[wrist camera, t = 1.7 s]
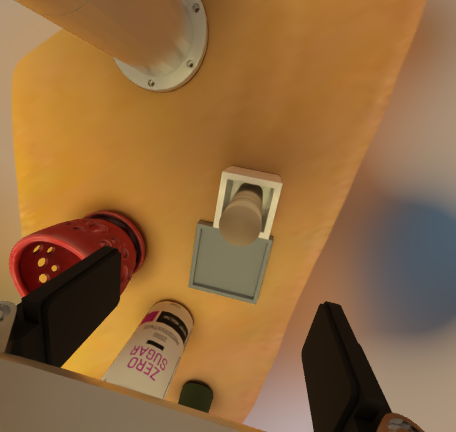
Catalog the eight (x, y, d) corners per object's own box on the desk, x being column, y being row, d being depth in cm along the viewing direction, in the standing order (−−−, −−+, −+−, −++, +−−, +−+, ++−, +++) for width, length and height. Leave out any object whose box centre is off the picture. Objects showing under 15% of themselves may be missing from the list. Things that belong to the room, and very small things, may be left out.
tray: (200, 220, 35) (197, 223, 33) (272, 236, 34) (272, 240, 32) (191, 281, 38) (188, 287, 37) (256, 297, 37) (256, 304, 36)
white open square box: (231, 165, 32) (222, 171, 25) (279, 175, 31) (282, 183, 24) (223, 210, 34) (212, 227, 27) (268, 220, 33) (268, 239, 27)
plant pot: (67, 219, 39) (-16, 250, 27) (132, 195, 35) (69, 220, 24) (103, 285, 42) (41, 338, 30) (166, 269, 38) (124, 321, 27)
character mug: (206, 414, 47) (186, 509, 35) (174, 401, 48) (143, 490, 35) (223, 379, 44) (206, 471, 31) (188, 365, 44) (158, 450, 32)
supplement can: (154, 335, 43) (100, 428, 29) (147, 297, 41) (83, 379, 27) (196, 337, 42) (161, 437, 28) (191, 299, 39) (148, 386, 25)
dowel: (239, 179, 31) (222, 202, 19) (265, 184, 31) (265, 211, 19) (234, 204, 33) (215, 240, 20) (259, 209, 32) (255, 250, 20)
